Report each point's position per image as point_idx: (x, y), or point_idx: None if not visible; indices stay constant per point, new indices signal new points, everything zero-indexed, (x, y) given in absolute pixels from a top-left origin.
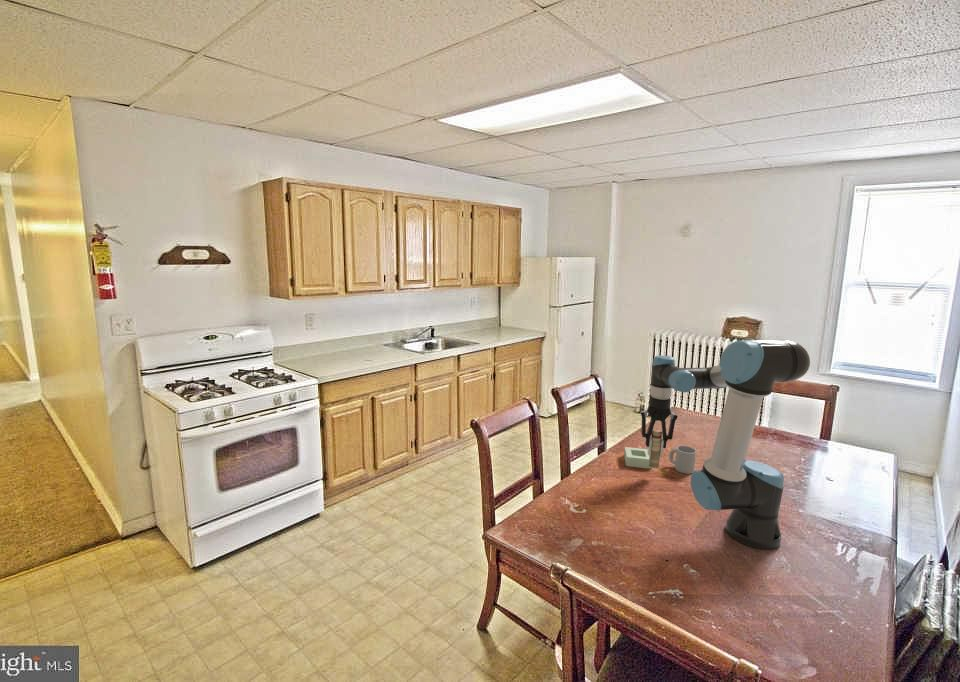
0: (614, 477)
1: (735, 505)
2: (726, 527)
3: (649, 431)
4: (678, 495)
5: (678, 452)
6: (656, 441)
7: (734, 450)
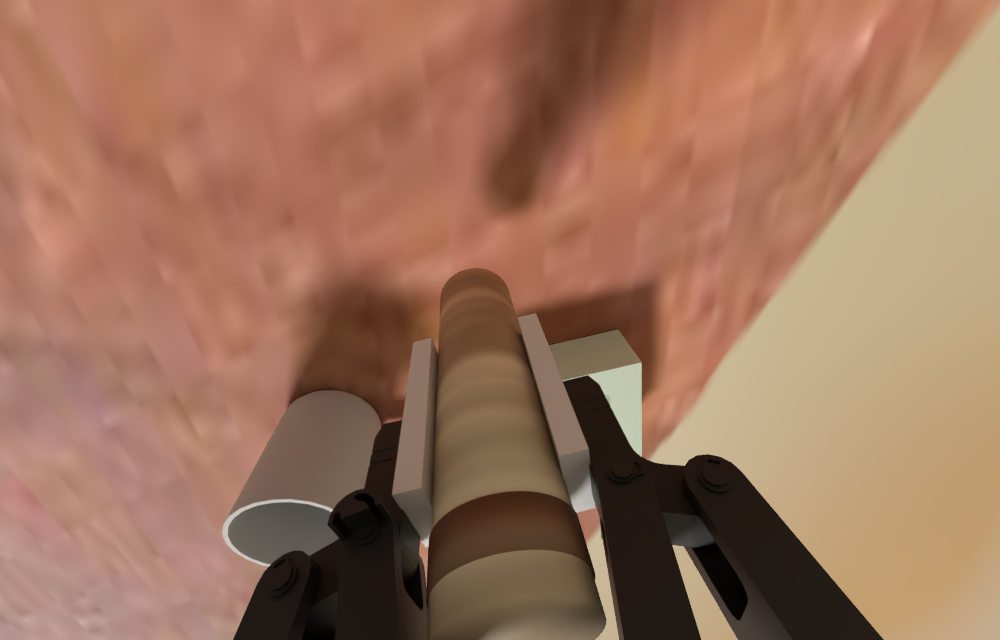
0: (701, 149)
1: None
2: None
3: (672, 600)
4: (258, 75)
5: (339, 493)
6: (491, 449)
7: None
